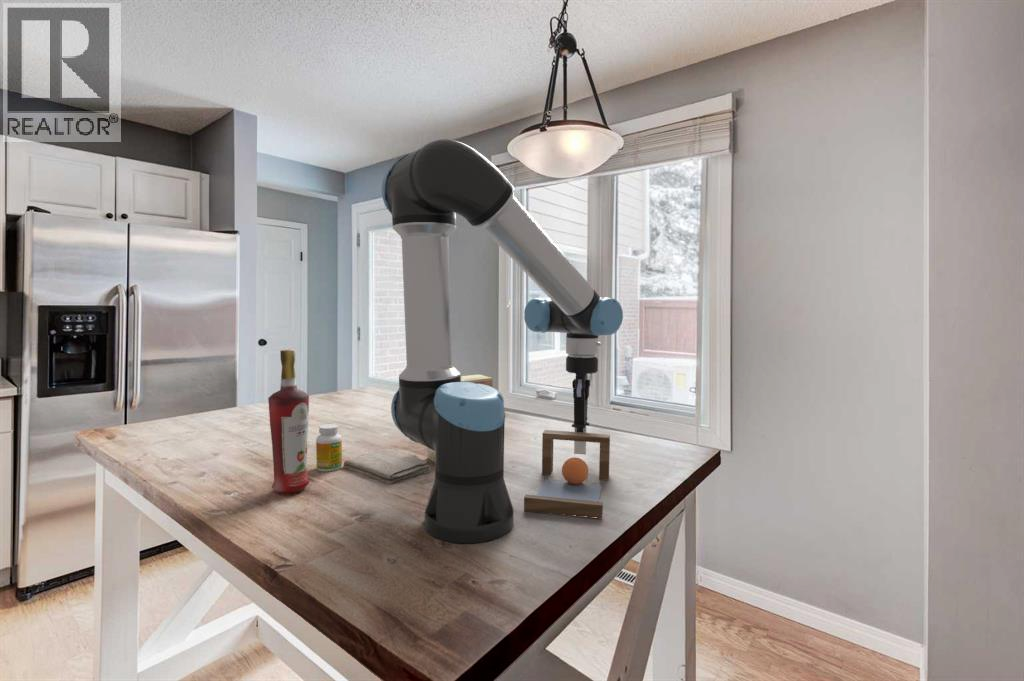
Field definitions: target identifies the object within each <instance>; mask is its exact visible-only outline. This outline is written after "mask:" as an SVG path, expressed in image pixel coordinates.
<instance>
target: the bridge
mask: <svg viewBox="0 0 1024 681" xmlns="http://www.w3.org/2000/svg"><path fill="white" fill-rule="evenodd" d="M554 440H555V441H556V440H559V441H572V442H574V441H583V442H586V443H587V442H588V443H598V444H599V463H598V464H599V466H598V468H599V470H598V472H599V473H598V479H599V480H603V479H609V478H610V458H611V456H610V452H611V445H610V444H611V434H610V433H608V434H607V433H597V432H596V433H594V432H586V433H583V432H575V431H569V430H568V431H565V430H552V429H551V430H549V429H544V431H543V432H542V440H541V441H542V446H541V447H542V449H541V455H542V456H541V474H542V475H548V476H550V475H552V473H553V471H554Z"/></svg>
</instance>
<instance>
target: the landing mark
mask: <svg viewBox="0 0 1024 681" xmlns="http://www.w3.org/2000/svg"><path fill="white" fill-rule="evenodd" d="M602 487H603V486H602V484H595V483H594V484H593V483H584V482H583V483H581V484H577V485H574V484H570V483H568V482H567V481H562V480H551V479H544V480H543V482H542V483H541V486H540V488H539V490H538V493H537V494H536V495H537V496H547V497H557V498H567V499H577V500H587V501H596V502H600V499H599V498H601V493H600V492H602Z"/></svg>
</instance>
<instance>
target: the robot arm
mask: <svg viewBox="0 0 1024 681" xmlns="http://www.w3.org/2000/svg"><path fill="white" fill-rule="evenodd" d="M383 176H384V177H383V180H382V184H381V198H382V201H383V204H384V206H385V208H386V209H387V210H388V211H389V213H390V214H391V221H392V222H391V223H392V230H394V231H395V232H396V234H397V235H399V236H400V239H401V256H402V257H401V258H402V260H401V261H402V280H403V305H404V331H405V333H404V334H405V354H406V367H405V369H404V370H403V371H402V372H400V374H399V375H398V388H397V389H398V390H397V391H396V392H395V393H394V395H393V398H392V401H391V407H390V411H391V417H392V420H393V424H394V425H395V426H396V428H397V429H398V430H399V431H400V433H402V434H403V435H404V436H405V437H406V438H408V439H409V440H410V441H413V442H415V443H417V444H420V445H422V446H425V447H426V448H427V449H428V448H430V449H432V450H434V451H435V462H434V481H433V485H432V488H431V491H430V495H429V498H428V502H427V503H426V507H425V509H424V510H425V511H424V528H425V531H426V532H427V533H428V534H429V535H431V536H433V537H434V538H436V539H439V540H442V541H445V542H451V543H457V544H460V543H461V544H472V543H473V544H474V543H481V542H487V541H488V542H489V541H491V540H495V539H498V538H500V537H503V536H504V535H506V534H507V533H508V532H509V531H510V530H512V528H513V526H514V515H515V514H514V511H515V510H514V507H513V502H512V500H511V498H510V494H509V491H508V488H507V485H506V481H505V476H504V474H505V473H504V471H505V470H504V469H505V468H504V466H505V465H504V464H505V425H506V424H505V421H506V410H505V403H504V402H505V401H504V396H503V395H502V393H501V392H500V391H499V390H498V389H496V388H494V387H493V386H492V387H490V386H487V385H484V384H475V383H472V382H461V376H462V375H461V372H460V371H459V369H457V368H456V367H455V366H454V364H453V348H452V347H453V341H452V340H453V339H452V338H453V336H452V315H451V314H452V311H451V308H452V307H451V280H450V276H451V275H450V247H449V245H450V244H449V238H450V236H451V235H452V234H453V233H454V232H455V231H456V230H457V215H460V216H461V217H463V219H465V220H466V221H467V222H468V223H469V224H470V225H471V226H472V227H473V228H482V229H483V230H484V231H485V233H487V234H488V235H489V236H490V237H491V239H492V240H493V241H494V242H495V243H496V244H497V246H499V247H500V248H501V249H502V250H503V251H504V252H505V253H506V254H507V256H509V258H511V259H512V261H514V263H516V265H518V267H519V268H520V269H521V270H522V271H523V272H524V273H525V274H526V275H527V276H528V277H529V278H530V279H531V280H532V281H533V282H534V284H536V285H537V287H538V288H539V289H541V291H543V293H544V294H545V295H546V296H547V297H535V298H532V299H530V300H529V301H528V302H527V303H526V305H525V307H524V312H523V313H524V318H523V319H524V323H525V325H526V327H527V328H528V329H529V330H530V331H531V332H534V333H542V334H543V333H549V332H550V333H560V334H561V333H563V334H566V336H565V337H566V338H565V339H566V340H565V342H566V343H565V354H567V356H566V357H565V371H566V372H567V373H570V374H575V378H574V379H573V380H572V388H573V391H572V392H573V394H572V396H573V423H572V424H571V427H572V428H574V432H583V433H587V426H590V422H588V405H589V404H588V402H589V400H588V399H589V396H590V386H591V379H588V374H596V373H597V372H598V370H599V358H598V356H597V355H598V354H599V347H600V346H602V343H601V342H600V341H599V336H611V335H614V334H616V333H617V332H618V330H619V329H620V328H621V326H622V324H623V319H624V313H623V312H624V311H623V308H622V305H621V303H620V302H619V301H618V300H617V299H616V298H613V297H608V296H600V294H599V292H598V291H596V290H595V289H594V288H593V287H592V285H591V284H590V283H589V281H587V280H586V278H584V276H583V275H582V274H581V273H580V272H579V270H578V269H577V268H576V267H575V266H574V265H573V263H572V262H571V261H570V259H568V258H567V256H565V254H564V253H563V251H561V249H560V248H559V247H558V246H557V245H556V244H555V242H554V241H553V239H551V238H550V236H549V235H548V234H547V233H546V232H545V230H544V229H543V228H542V227H541V226H540V224H538V222H537V221H536V220H535V219H534V218H533V216H532V215H531V214H530V213H529V212H528V210H526V208H525V207H524V206H523V205H522V204H521V203H520V202H519V200H518V199H517V197H516V196H514V195H515V188H514V187H515V186H513V184H512V183H511V181H510V180H508V179H507V177H506V176H505V175H504V174H503V173H502V172H501V170H500V169H499V168H498V167H497V166H496V165H494V164H493V163H492V162H491V161H490V160H489V159H488V158H487V157H485V156H484V155H483V154H482V153H480V152H479V151H477V150H476V149H475V148H473V147H471V146H469V145H468V144H466V143H463V142H461V141H458V140H454V139H448V138H443V139H441V138H440V139H436V140H433V141H430V142H428V143H427V144H425V145H424V146H422V147H421V148H419V149H417V150H416V151H414V152H412V153H409V154H405V155H403V156H402V157H400V158H398V159H397V160H396V161H394V163H393V164H392V165H391V166H390V167H389V168H388V169H387V170H386V172H385V174H384V175H383ZM573 442H574V443H573V444H574V445H573V447H574V448H573V453H574V455H586V454H587V442H583V441H573Z"/></svg>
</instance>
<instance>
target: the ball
mask: <svg viewBox="0 0 1024 681" xmlns="http://www.w3.org/2000/svg"><path fill="white" fill-rule="evenodd" d="M561 474H562V478H564V480H565V482H568V483H570V484H574V485H577V484H581V483H584V482H585V481H586V480H587V479H588V476H589V467H588V465H587V463H586V462H585V461H584V460H583V459H581V458H580V457H570V458H567V460H566V461H564V462H563V465H562V467H561Z"/></svg>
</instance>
